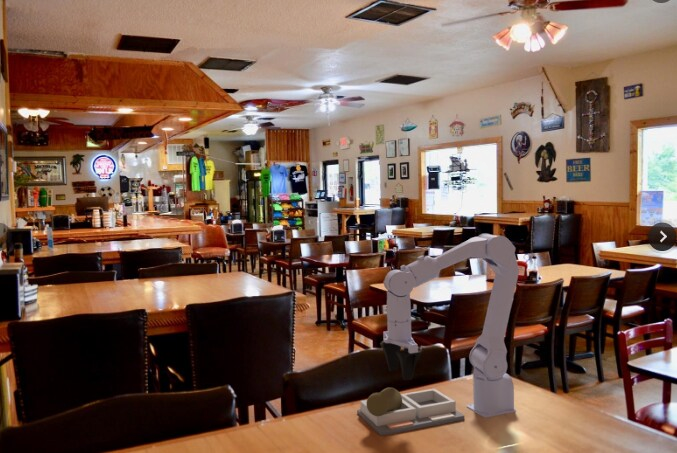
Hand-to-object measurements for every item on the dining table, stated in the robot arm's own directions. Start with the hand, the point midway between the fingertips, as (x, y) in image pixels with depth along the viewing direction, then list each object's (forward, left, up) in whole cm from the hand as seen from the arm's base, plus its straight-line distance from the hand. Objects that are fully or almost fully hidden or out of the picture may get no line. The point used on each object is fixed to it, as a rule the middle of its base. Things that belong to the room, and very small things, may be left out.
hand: (400, 374), depth 135 cm
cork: (+2, -2, -6) cm, 7 cm away
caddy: (-2, +1, -10) cm, 11 cm away
